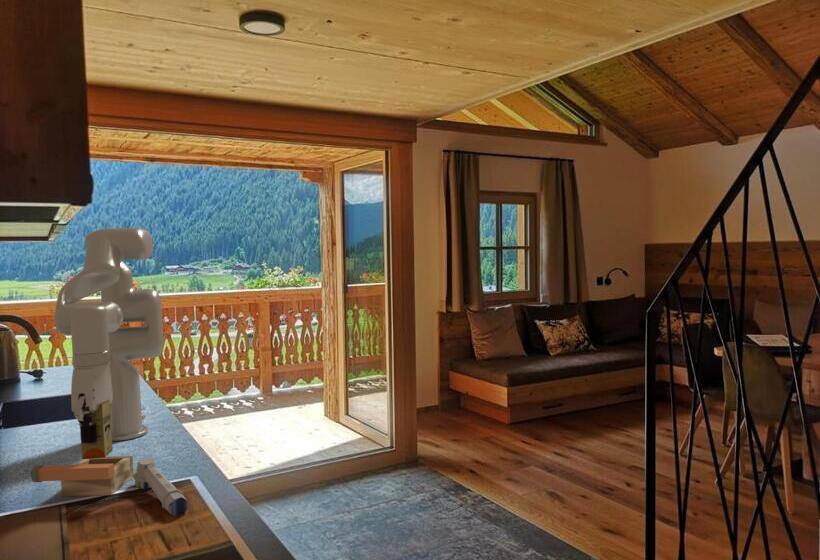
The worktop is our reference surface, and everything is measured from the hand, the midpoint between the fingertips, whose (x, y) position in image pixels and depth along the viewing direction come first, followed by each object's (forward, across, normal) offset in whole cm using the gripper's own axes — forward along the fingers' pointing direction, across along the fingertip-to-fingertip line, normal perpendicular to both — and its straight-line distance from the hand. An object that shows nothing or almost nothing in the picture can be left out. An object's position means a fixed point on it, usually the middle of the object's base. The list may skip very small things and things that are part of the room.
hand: (96, 437), depth 142 cm
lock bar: (+7, +9, -1) cm, 11 cm away
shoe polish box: (+4, 0, 0) cm, 4 cm away
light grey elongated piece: (+12, +7, +17) cm, 22 cm away
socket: (+11, 0, 0) cm, 11 cm away
